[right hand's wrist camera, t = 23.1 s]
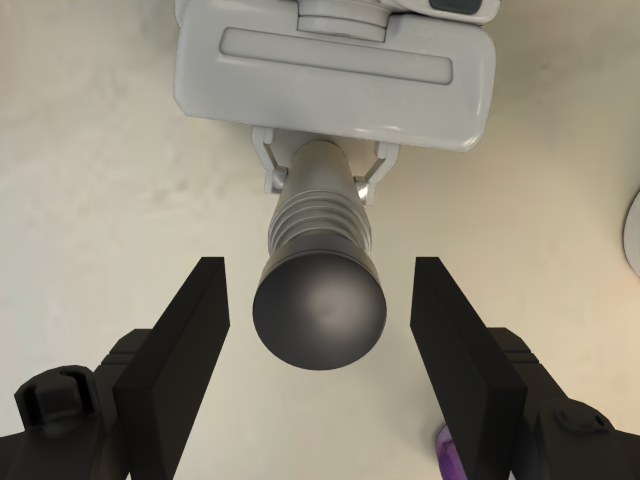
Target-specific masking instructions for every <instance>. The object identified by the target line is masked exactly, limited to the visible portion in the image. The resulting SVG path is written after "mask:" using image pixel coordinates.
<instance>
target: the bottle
mask: <svg viewBox="0 0 640 480" xmlns="http://www.w3.org/2000/svg"><path fill="white" fill-rule="evenodd" d="M310 234H329V235H334V236H338V237H341V238H344V239H346V240H348V241H350V242H352V243H354V244H355V245H357V246H358V247H359V248H361V249H362V250H363V251H364V252H365V253H366V254H367V255H368V256H370V252H371V228H370V224H369V221H368V218H367V215H366V212H365V210H364V207H363V204H362V201H361V198H360V196H359V193H358V190H357V187H356V184H355V182H354V179H353V176H352V173H351V170H350V167H349V165H348V162H347V159H346V157H345V155H344V153H343V152H342V150H341V149H340V148H339V147H337V146H336V145H335V144H333V143H331V142H328V141H322V140H317V141H312V142H309V143H307V144H305V145H304V146H302V147H301V148H300V149H299V150H298V151H297V153H296V154H295V156H294V158H293V161H292V164H291V167H290V170H289V172H288V175H287V178H286V181H285V183H284V186H283V189H282V192H281V195H280V197H279V200H278V203H277V206H276V209H275V211H274V214H273V217H272V220H271V222H270V226H269V231H268V250H269V255H270V257H271V256H272V254H273V253H274V252H275V251H276V250H277V249H279V248H280V247H281V246H282V245H284V244H285V243H287V242H289V241H291V240H293V239H295V238H298V237H301V236H305V235H310Z"/></svg>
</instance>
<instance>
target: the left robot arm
mask: <svg viewBox="0 0 640 480" xmlns="http://www.w3.org/2000/svg"><path fill="white" fill-rule="evenodd" d="M500 2H501V0H175V18H176V22H177V25H178V27H179V29H180V33H179V39H178V45H177V52H176V60H175V70H174V83H173V97H174V100H175V102H176V104H177V105H178V107H179V108H180V110H181V111H182V112H183V114H184V115H186V116H189V117H196V118H204V119H211V120H219V121H227V122H234V123H242V124H250V125H253V128H252V144H253V146H254V148H255V151H256V153H257V155H258V157H259V159H260V161H261V163H262V165H263V167H264V169H266V176H265V188H264V191H265V193H268V194H278V195H281V192H282V189H283V186H284V183H285V181H286V178H287V175H288V169H289V167H283V166H278V164H277V162H276V160H275V158H274V155H273V153H272V151H271V148H270V146H269V144H272V143H273V141H274V140H275V138H276V128H280V129H288V130H296V131H303V132H311V133H319V134H326V135H334V136H342V137H349V138H357V139H365V140H372V141H375V146H374V153H375V155H376V156H377V157H378V160H377V161H376V162H375V164H374V165H373V166H372V167H371V169H370V170H369V171H368V173H367V174H366V175H365V177H363V176H354V178H353V179H354V182H355V184H356V187H357V190H358V193H359V196H360V198H361V201H362V204H363V205H366V206H372V204H373V199H374V193H375V188H376V183H379V182H380V180H381V179H382V178H383V177H384V176H385V174H386V173H387V172H388V171H389V170H390V169H391V167H392V166H393V165H394V164H395V163H396V161H397V157H398V152H399V147H400V144H403V145H411V146H418V147H426V148H434V149H441V150H449V151H457V152H467V151H469V150H470V149H471V148H473V147H474V146H475V145H476V144H477V143H478V142H479V141H480V140H481V138H482V137H483V134H484V131H485V127H486V123H487V119H488V115H489V110H490V105H491V99H492V93H493V87H494V78H495V70H496V50H495V46H494V43H493V40H492V38H491V37H490V35H489V34H488V33H487V32H486V31H485V30H484V29H483V28H481V27H480V26H482V25H484V24H486V23H488V22H489V21H491V20H492V19H493V18H494V17H495V16H496V14H497V12H498V9H499V6H500ZM624 249H625V254H626V257H627V260H628V262H629V264H630V266H631V268H632V269H633V271H634V272H635V273H636V274H637V275H638V276H639V277H640V192H639V193H638V195H637V197H636V198H635V200H634V202H633V204H632V206H631V208H630V211H629V213H628V216H627V220H626V224H625V229H624Z"/></svg>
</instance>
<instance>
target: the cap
mask: <svg viewBox="0 0 640 480" xmlns="http://www.w3.org/2000/svg"><path fill="white" fill-rule="evenodd" d="M386 316H387V307H386V301H385V297H384V294H383V290H382V287H381V284H380V281H379V277H378V274H377V271H376V268H375V266H374V264H373V262H372V261H371V259H370V258H369V256H368V255H367V254H366V253H365V252H364V251H363V250H362V249H361V248H359V247H358V246H357V245H355V244H354V243H352V242H350V241H348V240H346V239H344V238H341V237H338V236H334V235H329V234H310V235H305V236H301V237H298V238H295V239H293V240H291V241H289V242H287V243H285V244H284V245H282V246H281V247H280V248H279V249H277V250H276V251H275V252H274V253H273V254H272V256H271V257H270V258H269V260H268V261H267V263H266V265H265V267H264V269H263V272H262V275H261V278H260V281H259V284H258V288H257V291H256V294H255V297H254V302H253V321H254V325H255V329H256V331H257V333H258V336H259V337H260V339H261V341H262V342H263V344H264V345H265V346H266V347H267V349H268V350H269V351H271V352H272V353H273V354H274V355H275V356H276V357H278V358H279V359H281V360H283V361H284V362H286V363H288V364H291V365H293V366H296V367H299V368H303V369H308V370H331V369H336V368H340V367H344V366H346V365H349V364H351V363H353V362H355V361H357V360H358V359H360V358H361V357H363V356H364V355H365V354H366V353H368V352H369V351H370V350H371V349H372V348H373V346H374V345H375V344H376V343H377V341H378V339H379V338H380V336H381V334H382V332H383V329H384V326H385V322H386Z"/></svg>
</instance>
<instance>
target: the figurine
mask: <svg viewBox="0 0 640 480" xmlns="http://www.w3.org/2000/svg"><path fill="white" fill-rule="evenodd" d="M436 452H437V457H438V462H439V468H440V472H441V476H442V478H443V480H467V477H466V475H465V472H464V469H463V467H462V464H461V461H460V459H459V456H458V453H457V451H456V448H455V445H454V443H453V440H452V437H451V435H450V432H449V429H448V426H447V425H445V427H444V428H443V429H442V431H441V432H440V434H439V436H438V437H437V439H436ZM509 480H515V478H514V476H513V474H512V472H511V471H510V475H509Z"/></svg>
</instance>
